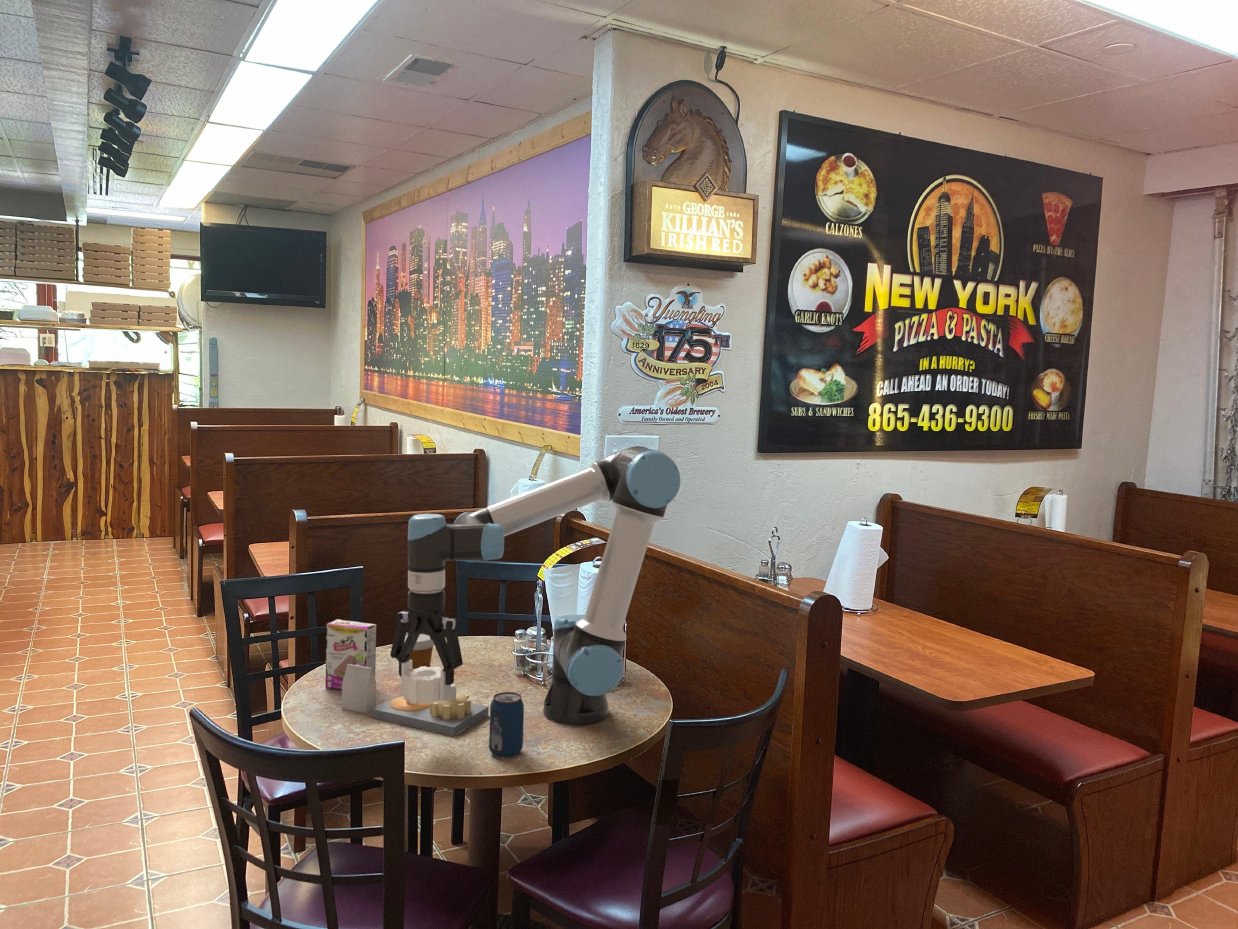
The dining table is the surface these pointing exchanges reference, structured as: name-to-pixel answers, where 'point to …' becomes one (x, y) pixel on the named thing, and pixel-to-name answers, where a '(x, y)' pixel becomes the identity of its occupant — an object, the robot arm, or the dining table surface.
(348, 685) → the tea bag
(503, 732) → the soda can
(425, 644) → the disposable coffee cup
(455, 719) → the gear board
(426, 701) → the loose gear
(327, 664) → the candy bar box
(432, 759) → the dining table surface
